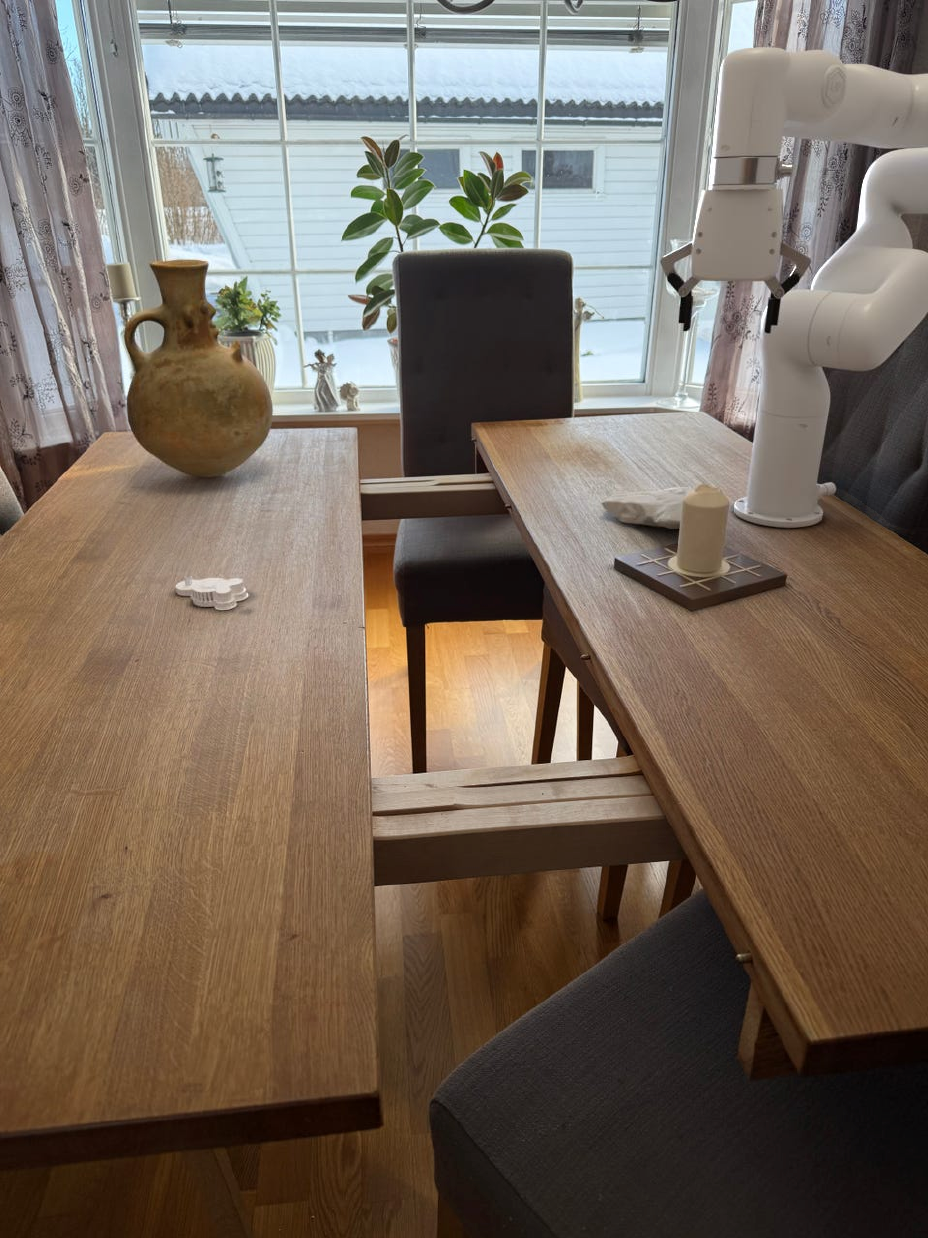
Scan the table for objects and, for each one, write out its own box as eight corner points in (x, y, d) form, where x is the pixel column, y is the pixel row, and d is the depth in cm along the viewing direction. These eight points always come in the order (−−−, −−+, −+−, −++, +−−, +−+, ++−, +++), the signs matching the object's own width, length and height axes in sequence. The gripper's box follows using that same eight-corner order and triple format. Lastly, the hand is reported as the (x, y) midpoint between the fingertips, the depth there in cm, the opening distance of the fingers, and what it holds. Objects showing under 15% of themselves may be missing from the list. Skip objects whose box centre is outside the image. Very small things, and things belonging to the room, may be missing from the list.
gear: (254, 582, 112) (252, 566, 111) (245, 611, 104) (243, 595, 103) (179, 586, 111) (176, 570, 110) (165, 615, 104) (162, 599, 103)
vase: (133, 501, 142) (89, 268, 127) (145, 461, 163) (109, 257, 148) (283, 489, 147) (258, 263, 132) (276, 451, 168) (254, 253, 153)
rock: (596, 546, 122) (708, 543, 119) (594, 513, 121) (708, 509, 117) (608, 507, 142) (705, 504, 138) (607, 479, 140) (705, 475, 136)
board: (702, 546, 121) (703, 535, 120) (785, 585, 109) (787, 573, 108) (613, 568, 115) (614, 556, 114) (691, 611, 103) (692, 598, 102)
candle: (670, 557, 113) (678, 482, 109) (712, 555, 114) (721, 480, 109) (684, 574, 108) (692, 495, 104) (727, 572, 109) (737, 494, 104)
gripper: (821, 174, 103) (799, 328, 110) (670, 177, 107) (658, 324, 115) (825, 173, 96) (801, 337, 104) (663, 177, 101) (652, 333, 108)
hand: (726, 330), depth 109 cm, fingers open, 9 cm apart
